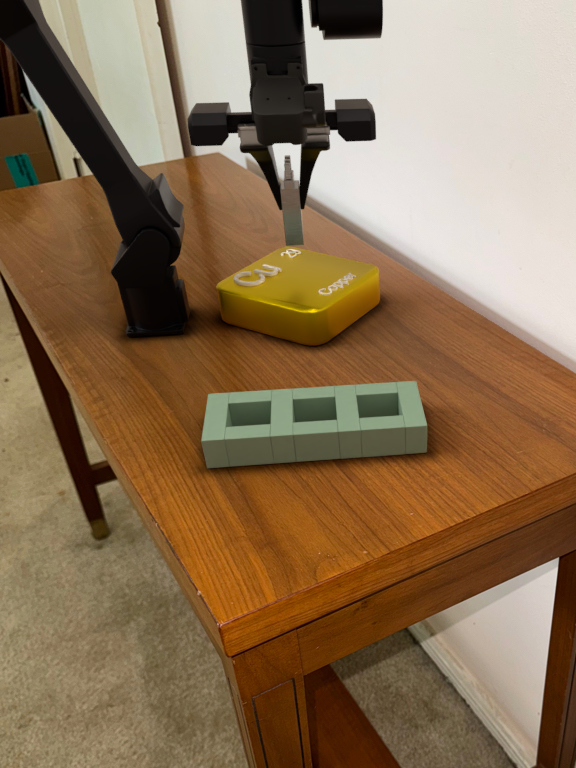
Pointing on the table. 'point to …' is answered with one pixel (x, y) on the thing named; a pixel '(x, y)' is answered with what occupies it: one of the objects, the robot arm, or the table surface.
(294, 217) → the flat stepped stick
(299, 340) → the element tile
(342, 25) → the robot arm
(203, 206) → the table surface
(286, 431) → the rack
